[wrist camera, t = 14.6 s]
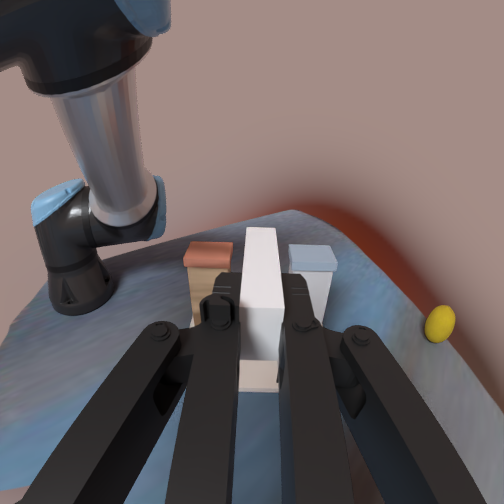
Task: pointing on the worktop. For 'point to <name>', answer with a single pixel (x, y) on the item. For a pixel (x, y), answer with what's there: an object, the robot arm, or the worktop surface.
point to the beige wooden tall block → (205, 269)
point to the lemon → (440, 324)
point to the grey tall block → (314, 272)
